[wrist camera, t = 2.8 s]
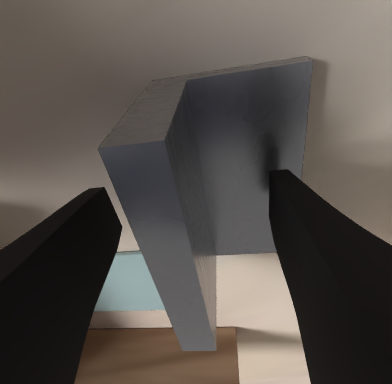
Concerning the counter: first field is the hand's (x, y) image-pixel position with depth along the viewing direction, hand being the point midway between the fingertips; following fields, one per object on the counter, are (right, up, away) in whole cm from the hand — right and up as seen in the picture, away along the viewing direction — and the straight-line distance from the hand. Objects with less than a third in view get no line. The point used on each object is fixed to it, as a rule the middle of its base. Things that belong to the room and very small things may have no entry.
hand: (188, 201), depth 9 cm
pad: (-4, -5, +6) cm, 9 cm away
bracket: (+2, +1, +1) cm, 2 cm away
